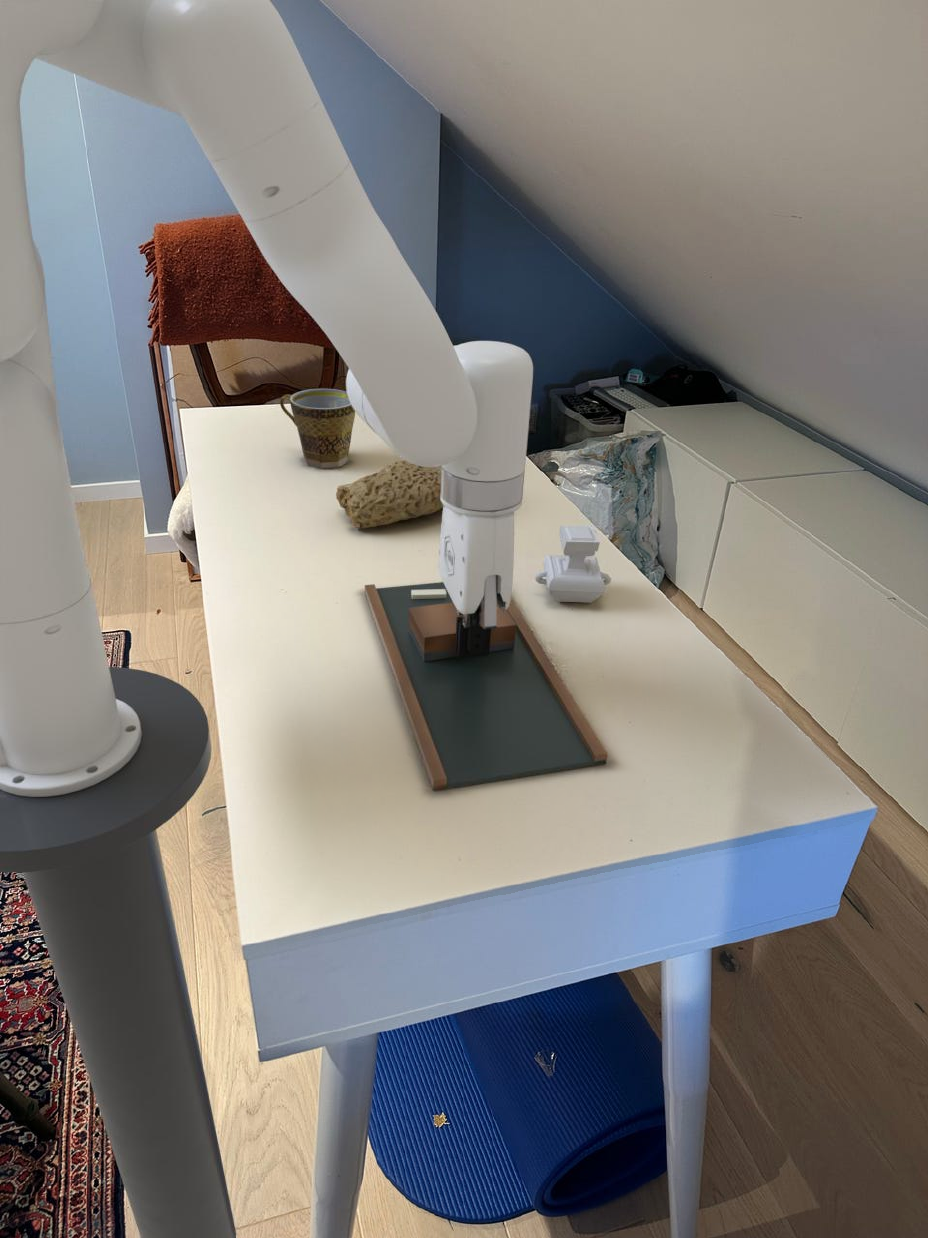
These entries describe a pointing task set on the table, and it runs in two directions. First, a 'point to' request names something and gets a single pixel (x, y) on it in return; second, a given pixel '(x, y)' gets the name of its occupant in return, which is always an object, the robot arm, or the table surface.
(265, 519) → the table surface
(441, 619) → the eraser
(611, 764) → the table surface
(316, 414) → the ceramic cup
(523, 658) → the slate board
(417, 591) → the white rectangular bar
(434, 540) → the table surface
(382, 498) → the sponge
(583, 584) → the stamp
